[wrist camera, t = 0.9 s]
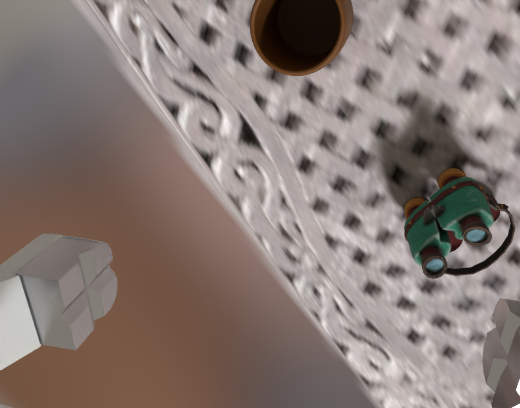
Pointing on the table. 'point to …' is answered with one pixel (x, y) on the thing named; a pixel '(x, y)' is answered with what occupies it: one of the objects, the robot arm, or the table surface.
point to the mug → (300, 33)
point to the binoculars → (452, 224)
